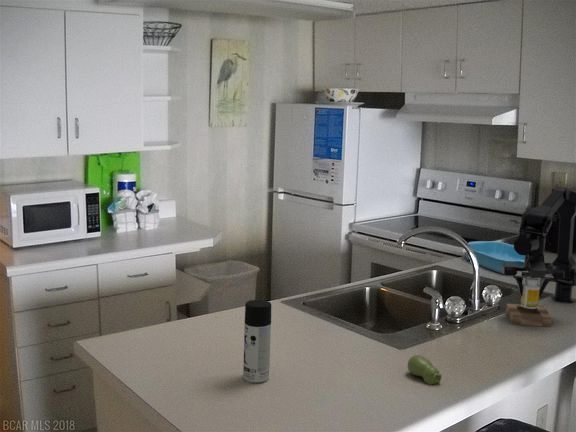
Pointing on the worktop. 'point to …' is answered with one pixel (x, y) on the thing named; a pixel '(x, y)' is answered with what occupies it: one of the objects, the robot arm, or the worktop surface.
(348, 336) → the worktop surface
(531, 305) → the supplement bottle
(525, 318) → the walnut jig
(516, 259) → the casserole dish
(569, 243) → the robot arm
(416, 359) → the pear
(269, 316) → the spray can
